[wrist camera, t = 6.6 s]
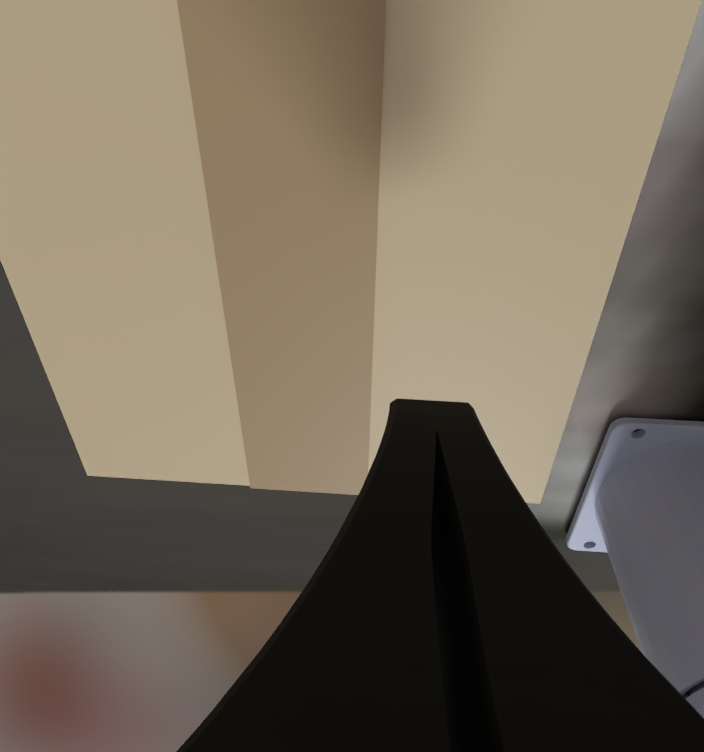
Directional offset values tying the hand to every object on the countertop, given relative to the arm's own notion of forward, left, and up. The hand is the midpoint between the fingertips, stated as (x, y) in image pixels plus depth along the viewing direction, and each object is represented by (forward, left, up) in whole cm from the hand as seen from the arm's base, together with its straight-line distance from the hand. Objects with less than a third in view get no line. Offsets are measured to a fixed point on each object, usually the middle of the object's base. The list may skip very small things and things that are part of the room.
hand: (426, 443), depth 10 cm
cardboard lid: (+3, -1, -5) cm, 6 cm away
